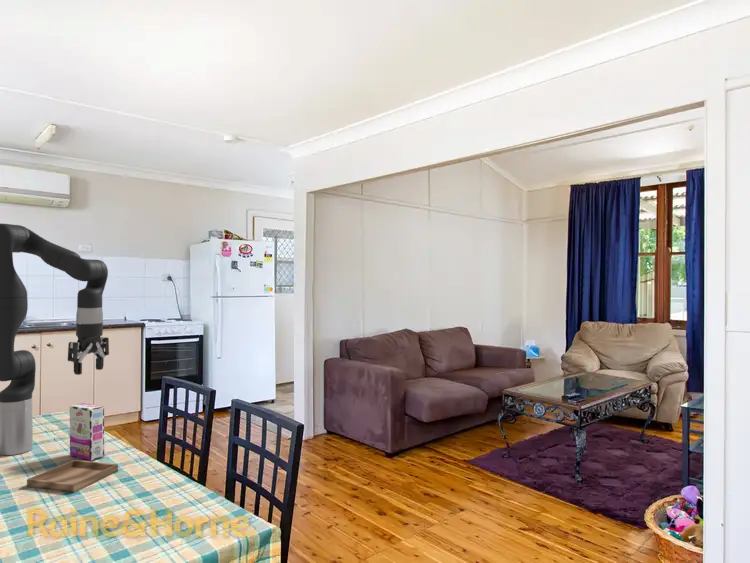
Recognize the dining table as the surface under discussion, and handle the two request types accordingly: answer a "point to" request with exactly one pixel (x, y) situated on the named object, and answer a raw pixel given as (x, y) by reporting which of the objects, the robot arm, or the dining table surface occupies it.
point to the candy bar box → (87, 431)
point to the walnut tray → (72, 476)
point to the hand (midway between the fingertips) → (88, 371)
